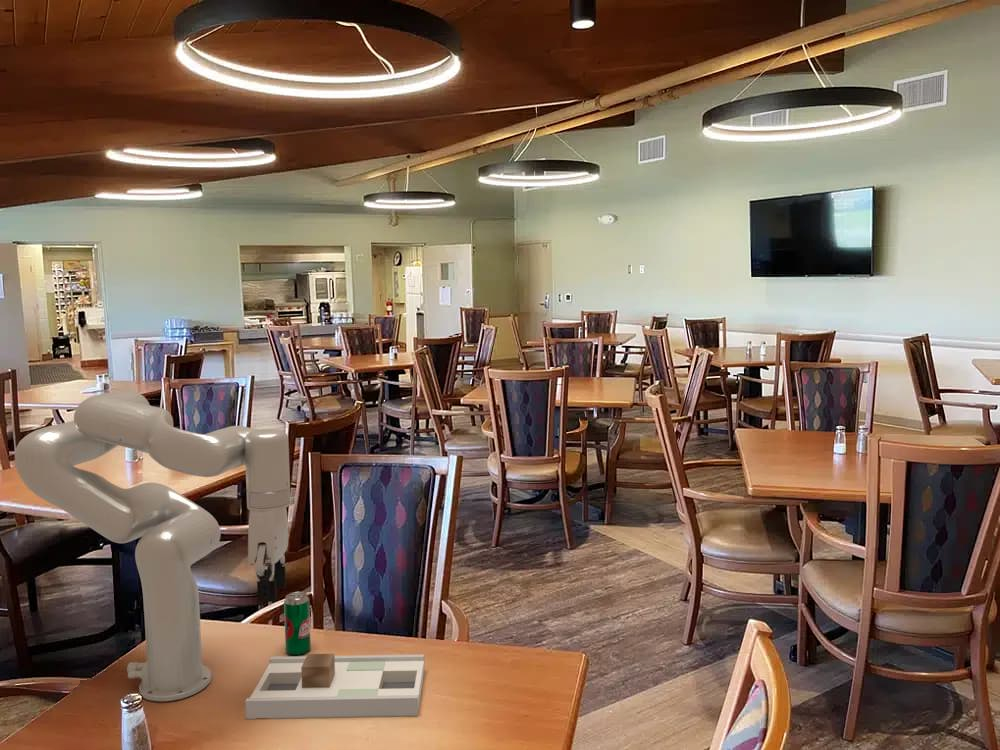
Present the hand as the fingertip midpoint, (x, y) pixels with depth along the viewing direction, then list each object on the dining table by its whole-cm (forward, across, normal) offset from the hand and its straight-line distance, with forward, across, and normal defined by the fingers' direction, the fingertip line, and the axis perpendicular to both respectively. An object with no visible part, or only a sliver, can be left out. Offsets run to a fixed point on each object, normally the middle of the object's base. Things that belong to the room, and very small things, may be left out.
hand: (272, 593), depth 136 cm
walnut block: (+17, 0, +8) cm, 19 cm away
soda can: (+20, -17, 0) cm, 26 cm away
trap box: (+20, 0, +12) cm, 23 cm away
